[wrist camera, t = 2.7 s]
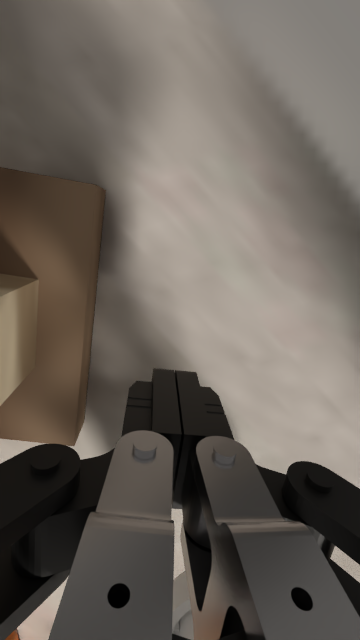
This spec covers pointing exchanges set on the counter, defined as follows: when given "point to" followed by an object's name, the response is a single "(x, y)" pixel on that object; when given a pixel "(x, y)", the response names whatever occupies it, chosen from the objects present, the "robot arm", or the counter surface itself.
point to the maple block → (17, 331)
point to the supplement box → (13, 636)
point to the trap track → (52, 298)
